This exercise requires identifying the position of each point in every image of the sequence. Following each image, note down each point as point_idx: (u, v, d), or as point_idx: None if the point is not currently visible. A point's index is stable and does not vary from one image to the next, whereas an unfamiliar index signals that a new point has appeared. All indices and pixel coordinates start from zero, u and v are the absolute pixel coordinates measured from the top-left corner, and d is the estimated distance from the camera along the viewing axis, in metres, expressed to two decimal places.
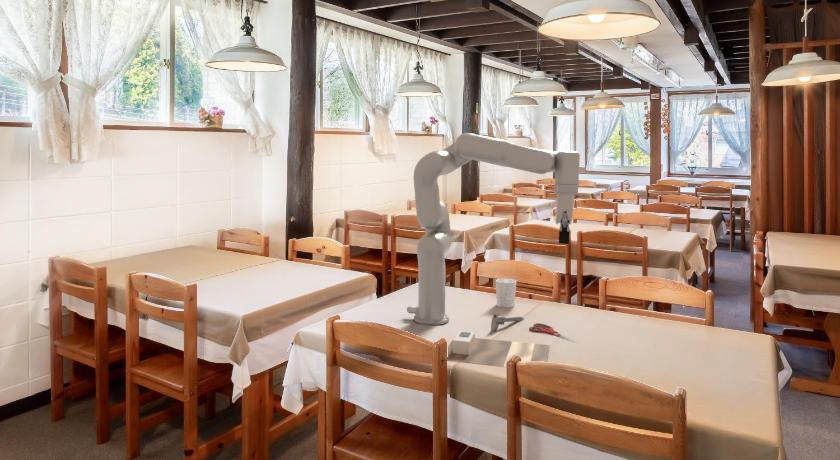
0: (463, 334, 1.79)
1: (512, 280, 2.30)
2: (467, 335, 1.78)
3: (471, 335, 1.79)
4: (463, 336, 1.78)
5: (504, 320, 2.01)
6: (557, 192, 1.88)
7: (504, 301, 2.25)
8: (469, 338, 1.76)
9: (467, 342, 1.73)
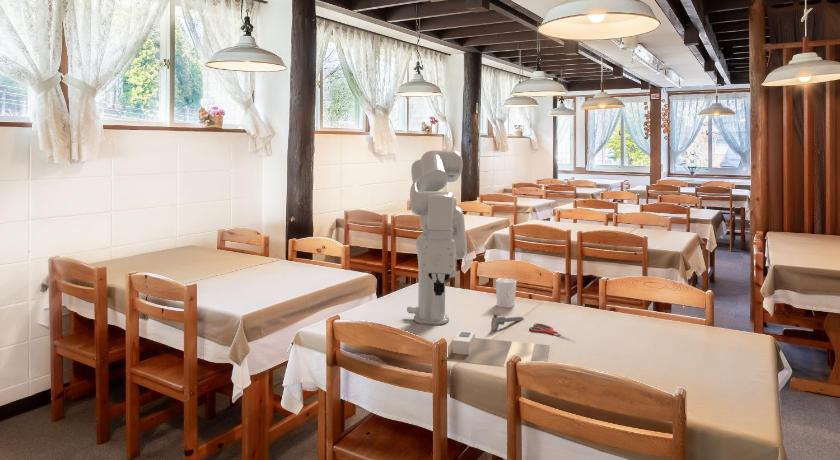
0: (463, 334, 1.79)
1: (512, 280, 2.30)
2: (467, 335, 1.78)
3: (471, 335, 1.79)
4: (463, 336, 1.78)
5: (504, 320, 2.01)
6: (446, 240, 1.73)
7: (504, 301, 2.25)
8: (469, 338, 1.76)
9: (467, 342, 1.73)
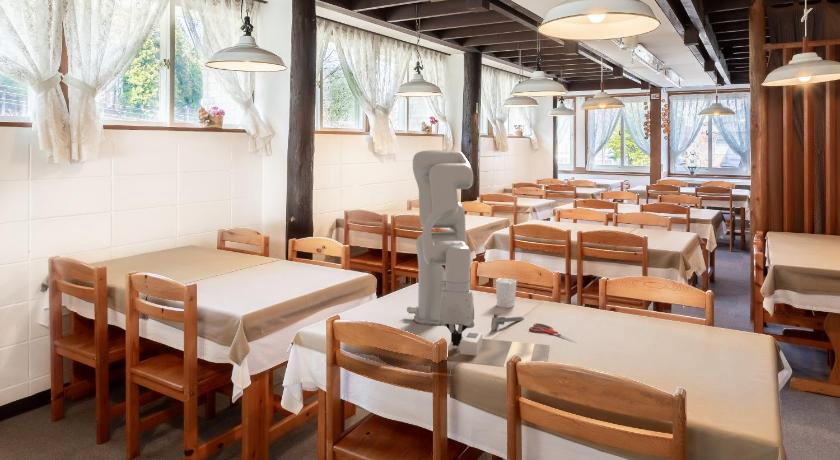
0: (471, 335, 1.79)
1: (512, 280, 2.30)
2: (475, 336, 1.78)
3: (479, 336, 1.78)
4: (470, 337, 1.77)
5: (504, 320, 2.01)
6: (463, 291, 1.73)
7: (504, 301, 2.25)
8: (477, 339, 1.75)
9: (474, 343, 1.73)
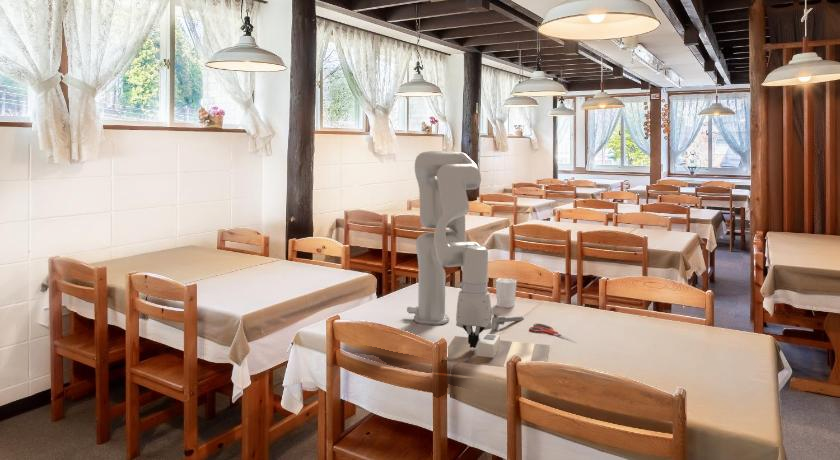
0: (488, 337, 1.77)
1: (512, 280, 2.30)
2: (492, 338, 1.76)
3: (496, 338, 1.76)
4: (488, 339, 1.75)
5: (504, 320, 2.01)
6: (481, 293, 1.72)
7: (504, 301, 2.25)
8: (494, 341, 1.74)
9: (491, 345, 1.71)
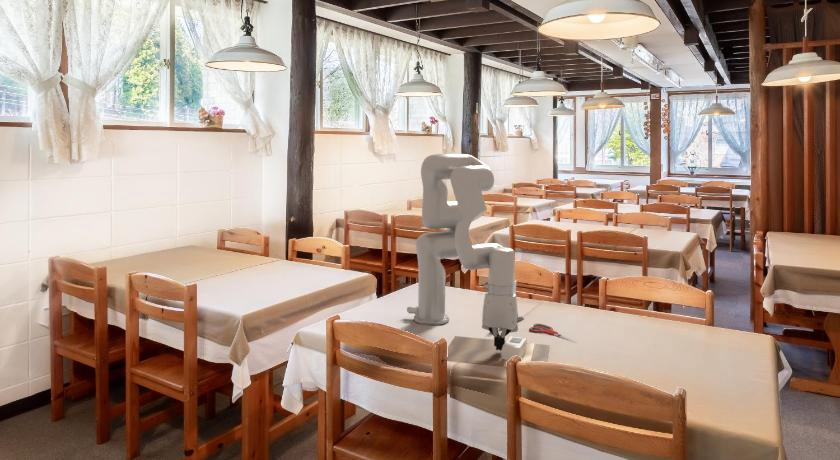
0: (514, 340, 1.74)
1: None
2: (518, 341, 1.73)
3: (523, 341, 1.74)
4: (514, 342, 1.73)
5: None
6: (508, 295, 1.70)
7: None
8: (520, 344, 1.71)
9: (517, 348, 1.69)
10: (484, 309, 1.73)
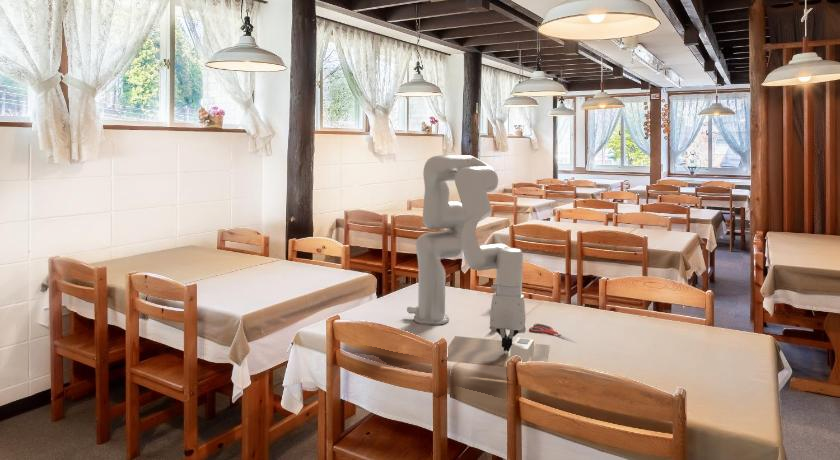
0: (522, 341, 1.74)
1: None
2: (526, 342, 1.73)
3: (530, 342, 1.73)
4: (521, 343, 1.72)
5: None
6: (516, 296, 1.69)
7: None
8: (528, 345, 1.70)
9: (525, 349, 1.68)
10: (492, 310, 1.72)
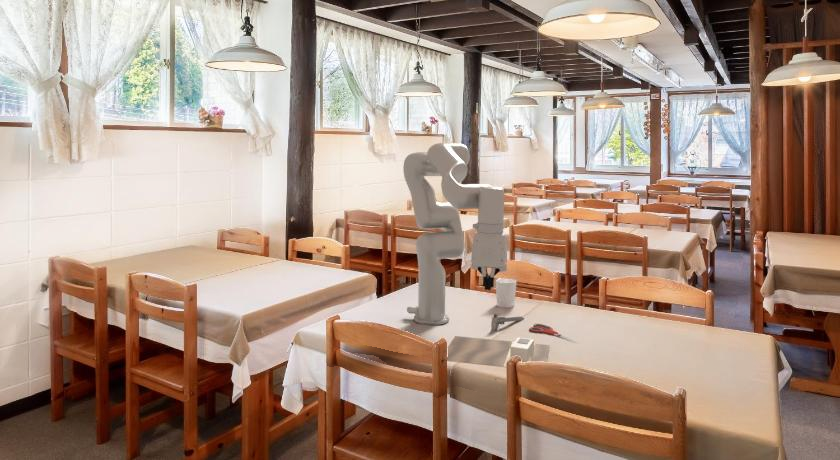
0: (522, 341, 1.74)
1: (512, 280, 2.30)
2: (526, 342, 1.73)
3: (530, 342, 1.73)
4: (521, 343, 1.72)
5: (504, 320, 2.01)
6: (497, 233, 1.69)
7: (504, 301, 2.25)
8: (528, 345, 1.70)
9: (525, 349, 1.68)
10: (473, 248, 1.72)
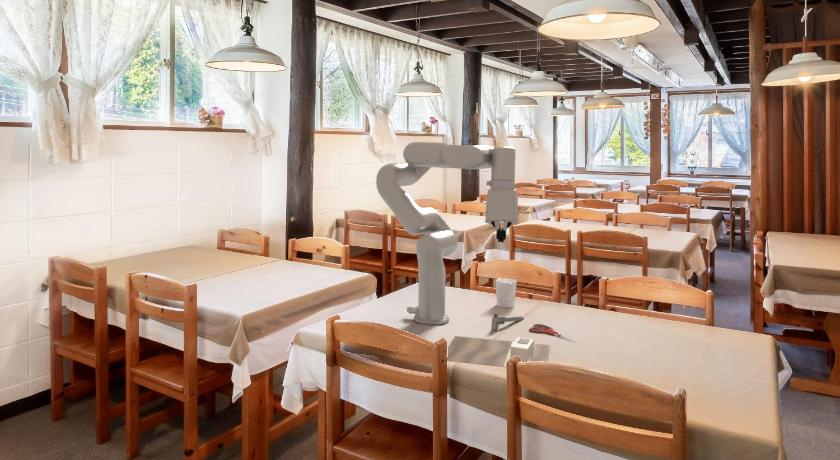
0: (522, 341, 1.74)
1: (512, 280, 2.30)
2: (526, 342, 1.73)
3: (530, 342, 1.73)
4: (521, 343, 1.72)
5: (504, 320, 2.01)
6: (509, 188, 1.84)
7: (504, 301, 2.25)
8: (528, 345, 1.70)
9: (525, 349, 1.68)
10: (487, 203, 1.87)
